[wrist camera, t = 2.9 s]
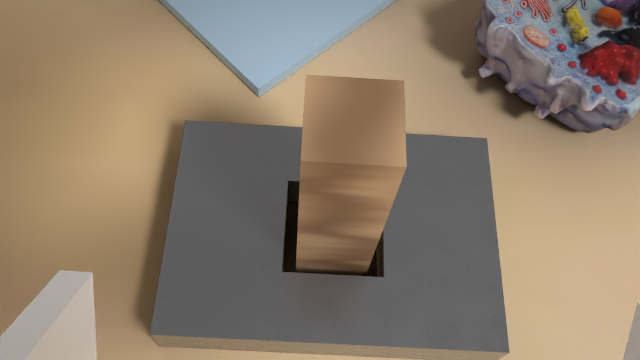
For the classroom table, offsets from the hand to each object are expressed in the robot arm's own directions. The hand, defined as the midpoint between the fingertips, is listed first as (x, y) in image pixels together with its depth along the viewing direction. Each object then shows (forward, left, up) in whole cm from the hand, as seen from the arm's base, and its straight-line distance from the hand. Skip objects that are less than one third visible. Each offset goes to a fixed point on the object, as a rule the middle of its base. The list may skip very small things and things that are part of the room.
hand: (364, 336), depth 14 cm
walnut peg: (+7, -8, -22) cm, 25 cm away
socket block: (+7, -8, -22) cm, 25 cm away
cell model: (+6, -34, -22) cm, 41 cm away
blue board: (+27, -20, -22) cm, 40 cm away
